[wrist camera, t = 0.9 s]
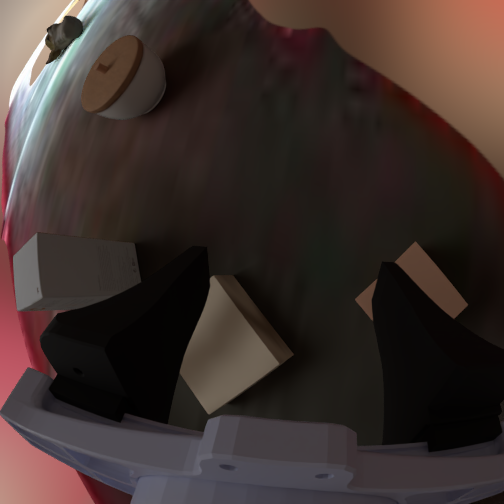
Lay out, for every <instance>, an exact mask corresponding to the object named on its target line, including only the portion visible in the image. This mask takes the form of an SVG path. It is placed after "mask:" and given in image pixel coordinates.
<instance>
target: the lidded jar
mask: <svg viewBox="0 0 504 504" xmlns="http://www.w3.org/2000/svg"><path fill="white" fill-rule="evenodd" d="M165 90H166V79H165V69H164V66H163V63H162V61H161V60H160V58H159V57H158V55H157V54H156V53H155V52H154V51H153V50H152V49H151V48H150V47H148V46H147V45H146V44H144V43H143V42H142V41H141V40H139V39H138V38H137V37H135V36H133V35H128V36H124V37H122V38H120V39H118V40H116V41H115V42H113V43H112V44H111V45H110V46H109V47H107V48H106V50H105V51H104V52H103V53H102V54H101V55H100V56H99V58H98V59H97V60H96V62H95V63H94V65H93V66H92V68H91V70H90V72H89V74H88V76H87V78H86V80H85V83H84V86H83V90H82V95H81V101H82V105H83V108H84V109H85V110H86V111H88V112H91V113H96V114H98V115H101V116H103V117H107V118H111V119H117V120H127V119H132V118H135V117H138V116H140V115H142V114H146V113H148V112H150V111H151V110H152V109H154V108H155V107H156V106H157V104H158V103H159V102H160V100H161V99H162V97H163V95H164V93H165Z"/></svg>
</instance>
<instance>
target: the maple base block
mask: <svg viewBox="0 0 504 504" xmlns="http://www.w3.org/2000/svg"><path fill="white" fill-rule="evenodd" d="M293 355H294V354H293V353H292V351H291V350H290V349H289V348H288V346H287V345H286V344H285V342H284V341H283V340H282V339H281V337H280V336H279V335H278V333H277V332H276V331H275V330H274V328H273V327H272V326H271V324H270V323H269V322H268V320H267V319H266V318H265V317H264V315H263V314H262V313H261V311H260V310H259V309H258V307H257V306H256V305H255V304H254V302H253V301H252V300H251V298H250V297H249V296H248V294H247V293H246V292H245V290H244V289H243V288H242V286H241V285H240V284H239V282H238V281H237V280H236V278H235V277H234V276H233V275H213V276H212V277H211V278H210V290H209V294H208V297H207V301H206V304H205V307H204V310H203V312H202V314H201V317H200V319H199V321H198V324H197V326H196V328H195V331H194V333H193V335H192V337H191V340H190V342H189V344H188V347H187V349H186V352H185V355H184V358H183V362H182V365H181V369H180V374H181V375H182V377H183V378H184V380H185V381H186V383H187V384H188V386H189V387H190V389H191V390H192V392H193V393H194V394H195V396H196V397H197V399H198V400H199V402H200V403H201V404H202V406H203V407H204V409H205V410H206V411H207V413H208V414H210V413H212V412H214V411H216V410H217V409H219V408H221V407H222V406H224V405H226V404H227V403H229V402H230V401H232V400H233V399H235V398H236V397H237V396H239V395H240V394H242V393H243V392H245V391H246V390H247V389H249V388H250V387H252V386H253V385H254V384H256V383H257V382H258V381H260V380H261V379H263V378H264V377H265V376H267V375H268V374H269V373H271V372H272V371H273V370H275V369H276V368H277V367H279V366H280V365H281V364H283V363H284V362H285V361H286V360H288V359H289V358H290V357H292V356H293Z"/></svg>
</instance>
